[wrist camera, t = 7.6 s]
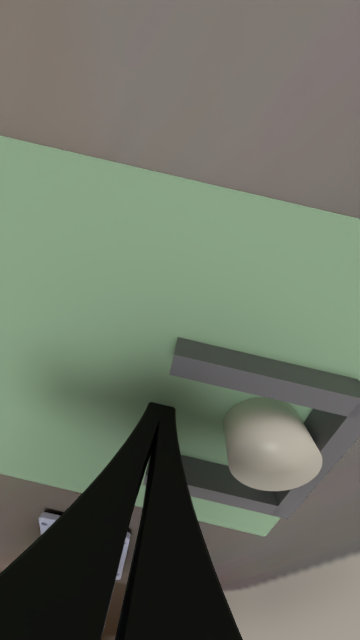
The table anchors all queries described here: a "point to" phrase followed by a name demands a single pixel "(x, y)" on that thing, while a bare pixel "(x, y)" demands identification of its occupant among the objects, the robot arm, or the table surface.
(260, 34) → the table surface
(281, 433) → the stone
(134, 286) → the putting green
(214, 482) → the grey frame
